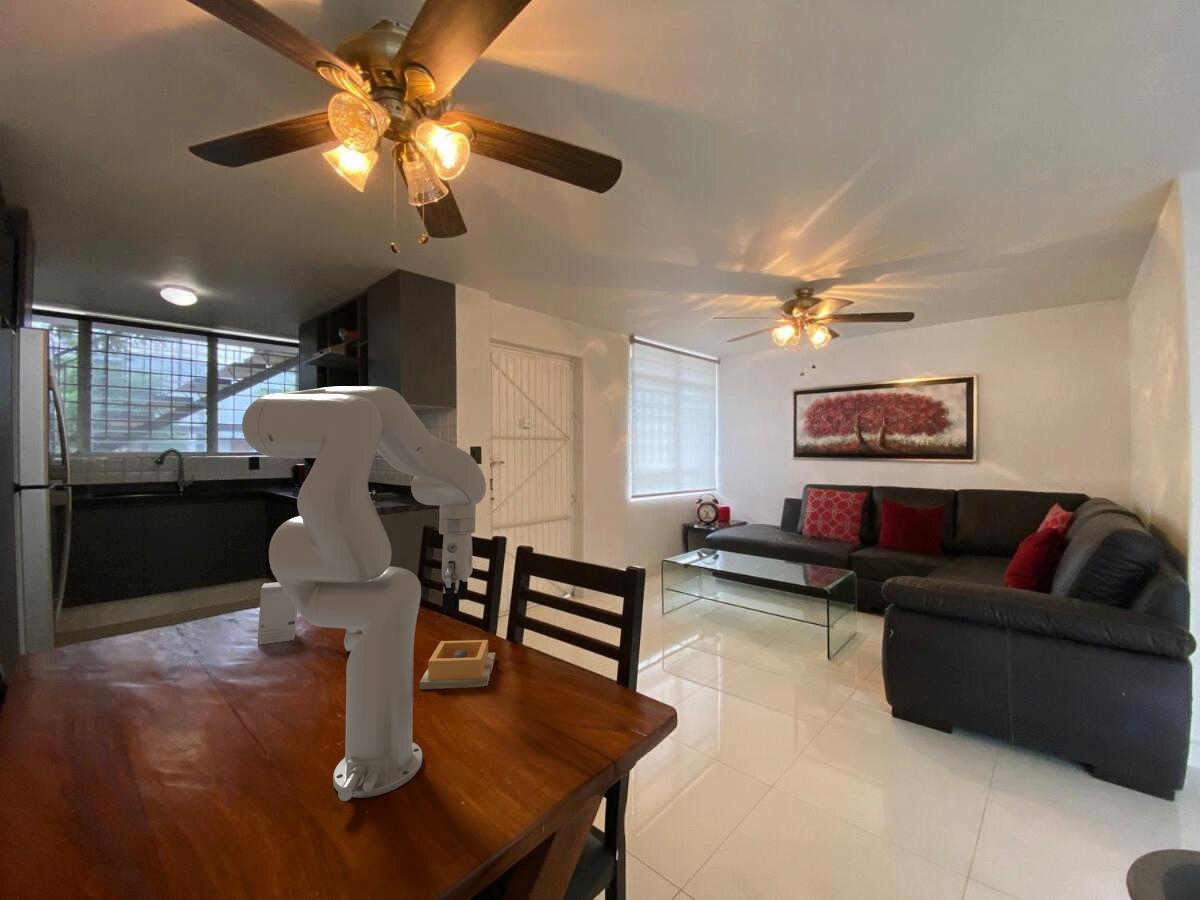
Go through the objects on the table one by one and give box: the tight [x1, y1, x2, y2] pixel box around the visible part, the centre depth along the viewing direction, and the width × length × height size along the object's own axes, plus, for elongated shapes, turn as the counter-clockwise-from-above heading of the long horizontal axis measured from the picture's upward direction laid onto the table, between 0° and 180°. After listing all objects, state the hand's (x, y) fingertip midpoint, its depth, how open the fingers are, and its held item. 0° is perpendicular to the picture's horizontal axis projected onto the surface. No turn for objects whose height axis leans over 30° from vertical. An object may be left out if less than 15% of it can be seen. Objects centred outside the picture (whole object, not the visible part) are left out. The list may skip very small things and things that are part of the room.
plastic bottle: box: [343, 628, 363, 653], centre depth 119 cm, size 6×7×20 cm
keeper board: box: [419, 650, 496, 690], centre depth 107 cm, size 14×14×4 cm
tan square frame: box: [427, 639, 489, 680], centre depth 106 cm, size 11×11×4 cm
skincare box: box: [256, 581, 298, 646], centre depth 126 cm, size 8×6×15 cm
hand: (455, 605), depth 102 cm, fingers open, 9 cm apart
